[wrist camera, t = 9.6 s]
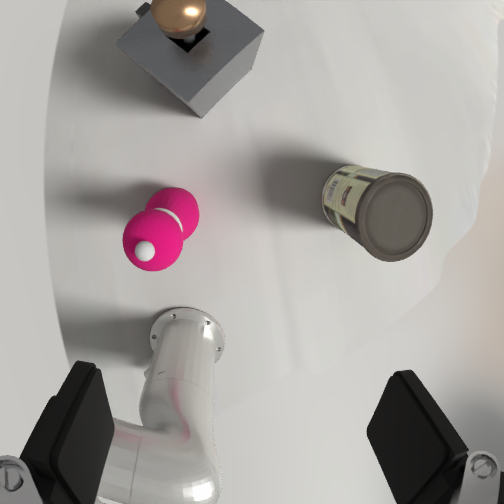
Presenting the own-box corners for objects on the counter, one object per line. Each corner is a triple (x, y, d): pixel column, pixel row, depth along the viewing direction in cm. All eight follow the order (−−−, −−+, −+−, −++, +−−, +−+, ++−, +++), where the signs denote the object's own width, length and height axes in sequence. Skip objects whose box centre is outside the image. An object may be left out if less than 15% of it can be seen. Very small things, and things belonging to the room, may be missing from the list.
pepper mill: (143, 199, 44) (89, 238, 25) (186, 175, 44) (156, 196, 25) (168, 242, 46) (132, 305, 28) (210, 218, 46) (199, 270, 27)
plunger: (197, 97, 35) (176, 61, 19) (157, 64, 33) (113, 14, 17) (237, 58, 34) (246, -1, 18) (197, 26, 32) (179, -43, 16)
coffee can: (382, 227, 48) (431, 256, 35) (322, 234, 48) (357, 267, 35) (381, 163, 45) (434, 172, 32) (318, 166, 45) (355, 175, 31)
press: (201, 118, 41) (188, 102, 26) (138, 65, 38) (98, 31, 23) (251, 69, 39) (264, 30, 24) (186, 18, 36) (170, -35, 21)
